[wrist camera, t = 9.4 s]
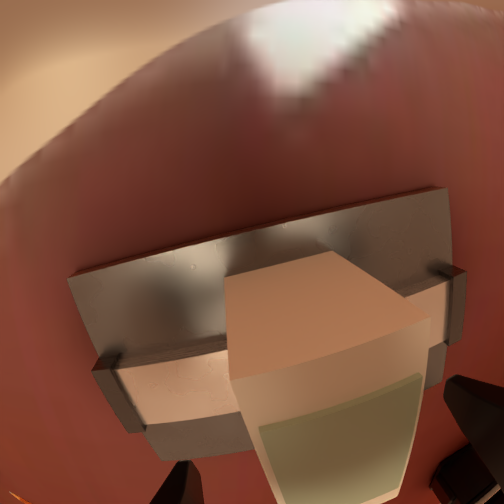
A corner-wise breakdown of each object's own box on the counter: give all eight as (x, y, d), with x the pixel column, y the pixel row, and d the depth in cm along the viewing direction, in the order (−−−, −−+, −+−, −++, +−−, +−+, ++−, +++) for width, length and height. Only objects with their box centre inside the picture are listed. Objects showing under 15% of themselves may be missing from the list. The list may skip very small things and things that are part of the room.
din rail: (435, 186, 13) (463, 189, 11) (433, 373, 16) (451, 391, 14) (75, 271, 12) (53, 287, 10) (163, 449, 15) (159, 475, 13)
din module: (331, 250, 12) (435, 320, 5) (347, 406, 14) (398, 499, 8) (223, 277, 12) (230, 387, 5) (268, 430, 14) (292, 535, 7)
